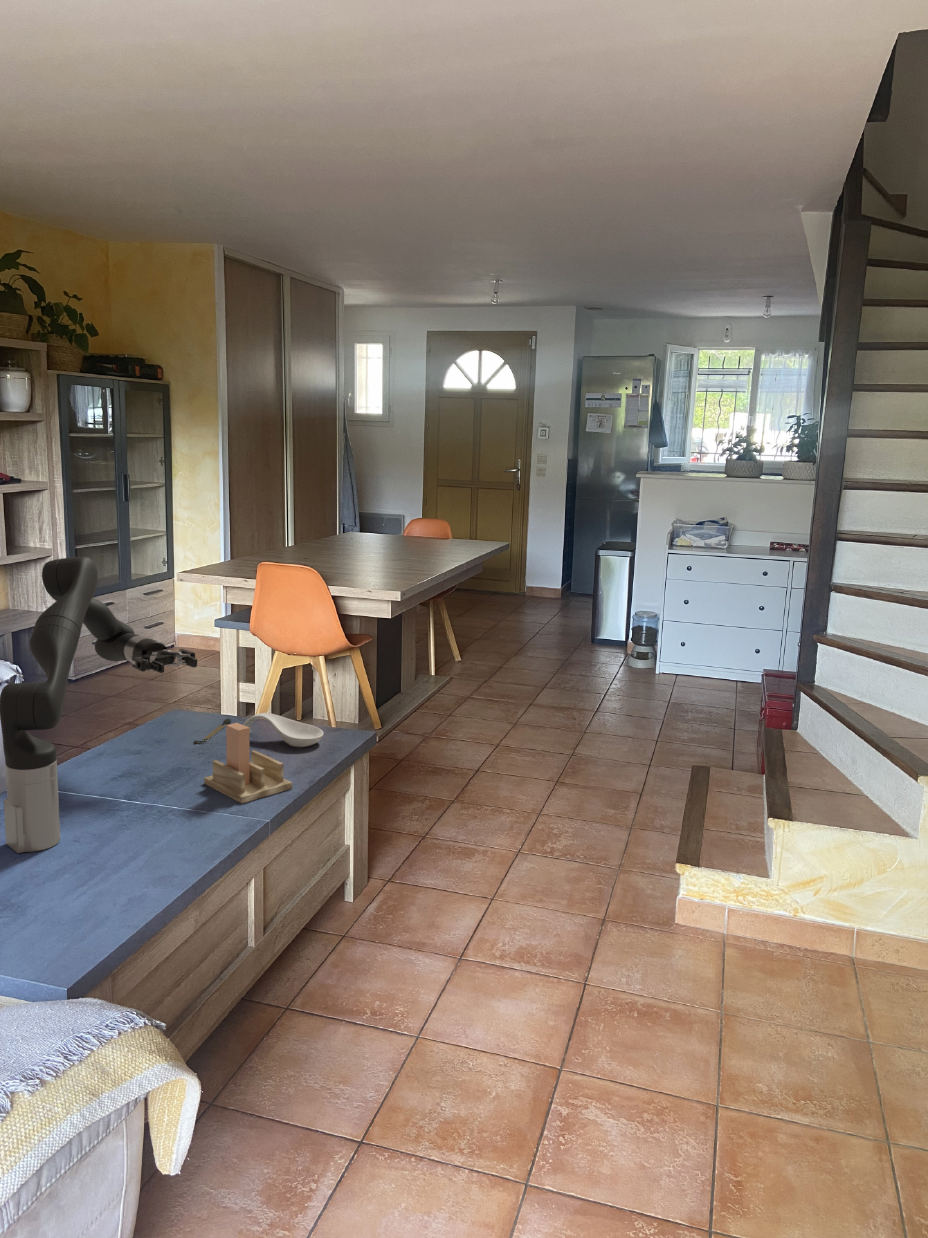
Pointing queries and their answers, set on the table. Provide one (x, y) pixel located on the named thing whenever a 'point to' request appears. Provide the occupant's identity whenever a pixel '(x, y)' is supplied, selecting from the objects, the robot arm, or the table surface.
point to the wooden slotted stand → (262, 779)
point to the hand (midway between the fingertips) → (179, 665)
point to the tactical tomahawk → (214, 731)
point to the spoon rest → (290, 729)
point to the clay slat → (238, 749)
